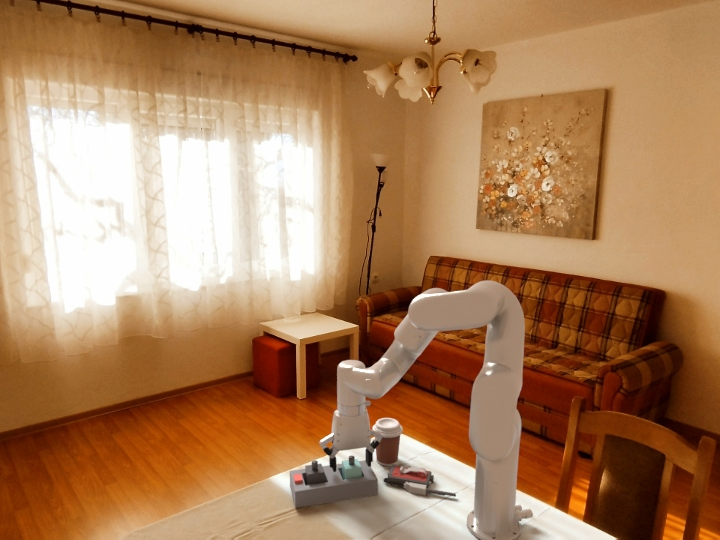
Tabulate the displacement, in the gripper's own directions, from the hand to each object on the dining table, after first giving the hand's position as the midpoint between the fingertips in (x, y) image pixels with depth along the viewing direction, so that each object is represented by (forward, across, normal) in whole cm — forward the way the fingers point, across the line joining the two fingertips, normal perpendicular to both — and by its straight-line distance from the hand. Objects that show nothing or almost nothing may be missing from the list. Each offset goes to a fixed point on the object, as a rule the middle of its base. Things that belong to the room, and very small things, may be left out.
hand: (351, 466), depth 138 cm
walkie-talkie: (+7, -19, +4) cm, 20 cm away
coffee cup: (+6, -14, -11) cm, 19 cm away
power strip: (+6, +5, 0) cm, 8 cm away
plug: (+6, 0, 0) cm, 6 cm away
